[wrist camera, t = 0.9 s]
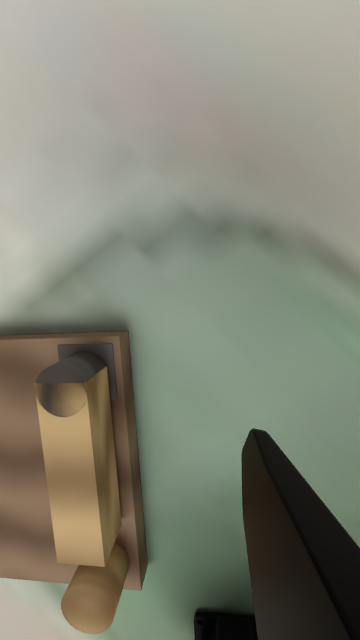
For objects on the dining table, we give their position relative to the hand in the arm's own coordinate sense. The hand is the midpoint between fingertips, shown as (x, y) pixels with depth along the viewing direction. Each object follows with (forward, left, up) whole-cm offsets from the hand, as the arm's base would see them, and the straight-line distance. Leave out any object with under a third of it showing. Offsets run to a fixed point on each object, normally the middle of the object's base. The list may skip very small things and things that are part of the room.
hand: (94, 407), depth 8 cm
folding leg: (-8, +6, -11) cm, 14 cm away
